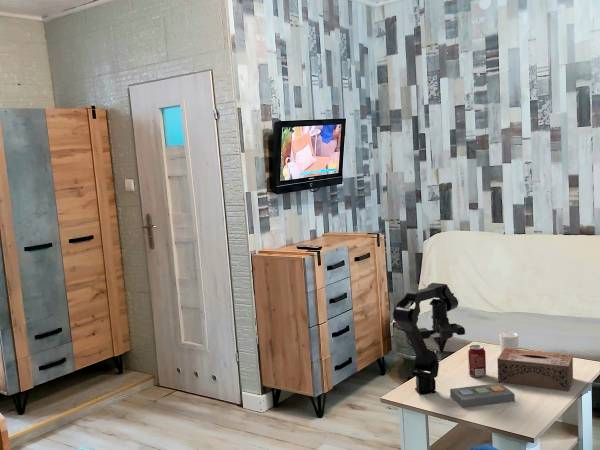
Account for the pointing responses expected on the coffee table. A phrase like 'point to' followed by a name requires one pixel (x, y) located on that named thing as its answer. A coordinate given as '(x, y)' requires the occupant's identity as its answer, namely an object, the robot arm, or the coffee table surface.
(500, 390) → the orange button
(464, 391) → the blue button
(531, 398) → the coffee table surface
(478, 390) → the green button
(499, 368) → the tissue box cover
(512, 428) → the coffee table surface
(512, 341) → the white cup
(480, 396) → the button panel
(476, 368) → the soda can
